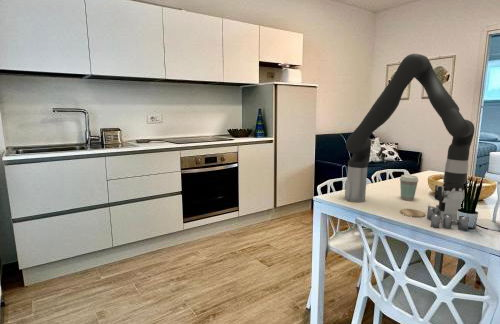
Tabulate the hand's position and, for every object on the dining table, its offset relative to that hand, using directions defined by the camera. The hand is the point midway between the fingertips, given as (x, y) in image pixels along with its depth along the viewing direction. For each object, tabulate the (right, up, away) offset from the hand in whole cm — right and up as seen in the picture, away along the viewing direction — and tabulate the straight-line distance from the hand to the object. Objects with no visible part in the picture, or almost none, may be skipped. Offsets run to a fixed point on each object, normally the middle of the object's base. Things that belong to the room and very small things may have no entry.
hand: (450, 210), depth 126 cm
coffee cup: (0, 0, +34) cm, 34 cm away
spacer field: (0, -5, +1) cm, 5 cm away
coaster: (-9, -3, +12) cm, 16 cm away
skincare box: (0, -3, +1) cm, 4 cm away
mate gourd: (+11, -2, +21) cm, 24 cm away
